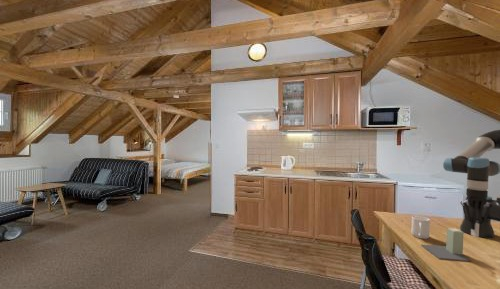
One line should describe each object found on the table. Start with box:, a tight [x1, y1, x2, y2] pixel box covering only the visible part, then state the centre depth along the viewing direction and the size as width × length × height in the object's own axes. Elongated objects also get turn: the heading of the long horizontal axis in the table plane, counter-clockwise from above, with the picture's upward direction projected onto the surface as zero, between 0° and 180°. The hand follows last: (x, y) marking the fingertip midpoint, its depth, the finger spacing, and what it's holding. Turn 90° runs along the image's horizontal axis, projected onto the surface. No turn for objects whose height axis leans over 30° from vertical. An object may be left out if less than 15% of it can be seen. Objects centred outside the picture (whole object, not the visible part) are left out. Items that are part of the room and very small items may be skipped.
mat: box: [420, 244, 472, 262], centre depth 117 cm, size 14×14×1 cm
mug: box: [410, 215, 431, 240], centre depth 136 cm, size 9×12×11 cm
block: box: [445, 227, 465, 255], centre depth 117 cm, size 4×4×11 cm
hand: (474, 235), depth 116 cm, fingers closed
